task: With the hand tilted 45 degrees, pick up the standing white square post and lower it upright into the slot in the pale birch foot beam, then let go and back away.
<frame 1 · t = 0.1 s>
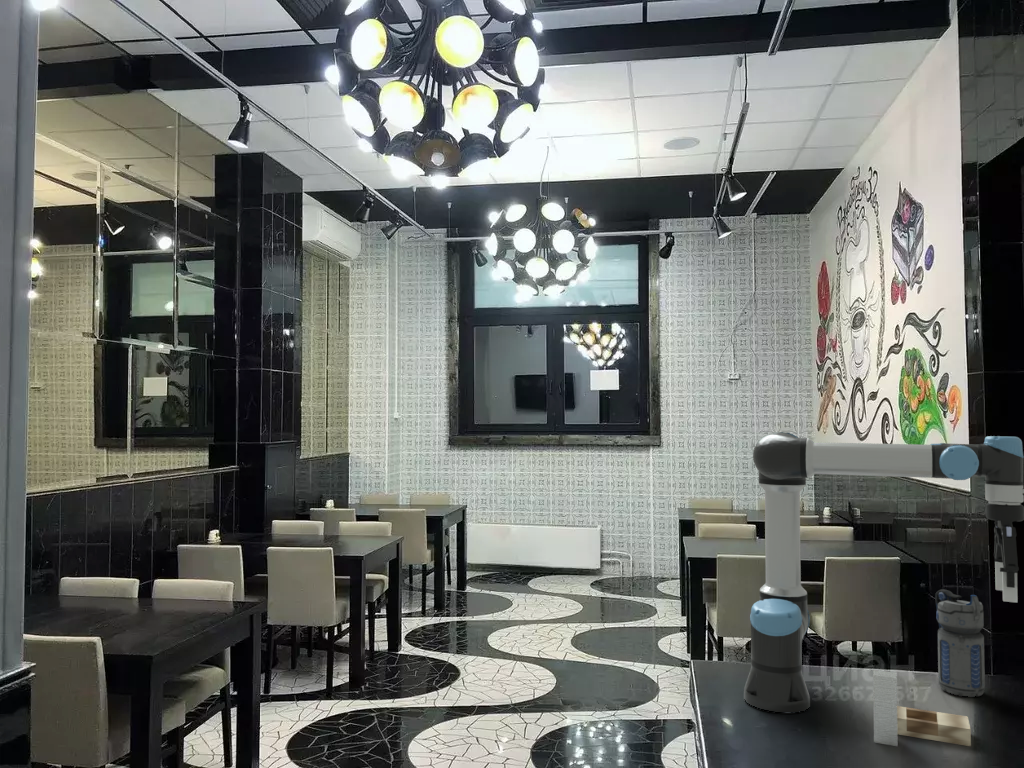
hand: (1006, 595, 181), 28 cm above the table, tool pointing down, fingers open, 13 cm apart
white square post: (885, 740, 167), on the table
foot beam: (921, 731, 172), on the table
beverage bottle: (958, 691, 199), on the table
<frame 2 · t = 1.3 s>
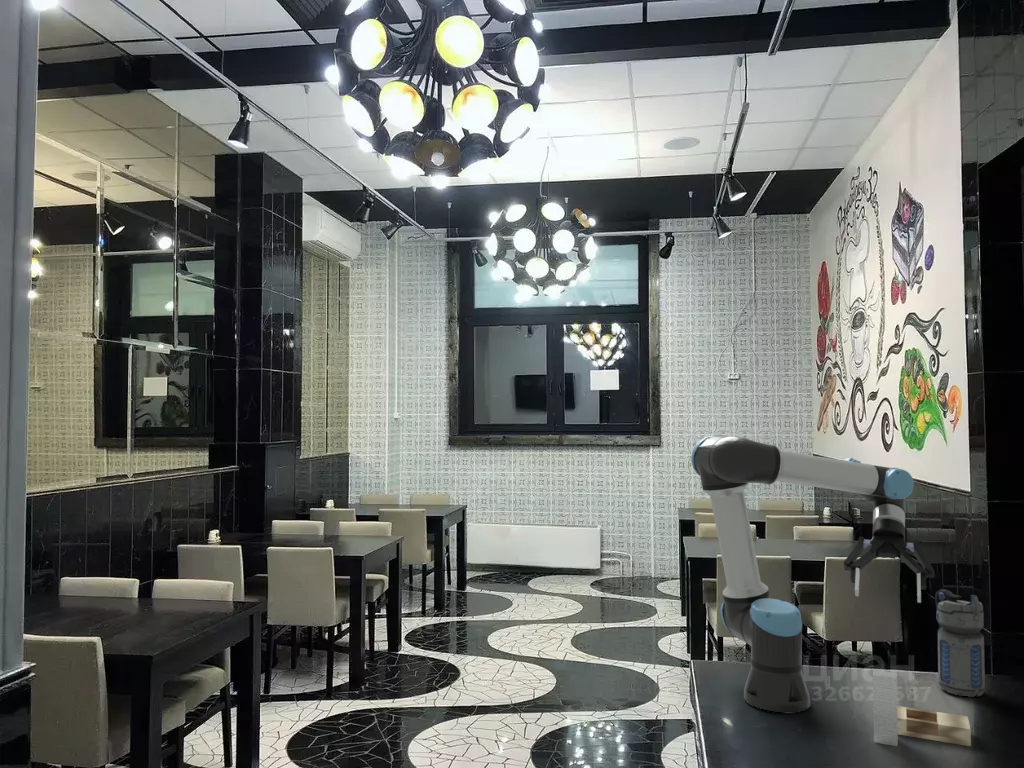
hand: (887, 596, 190), 26 cm above the table, tool tilted 45°, fingers open, 13 cm apart
nothing on the table moved.
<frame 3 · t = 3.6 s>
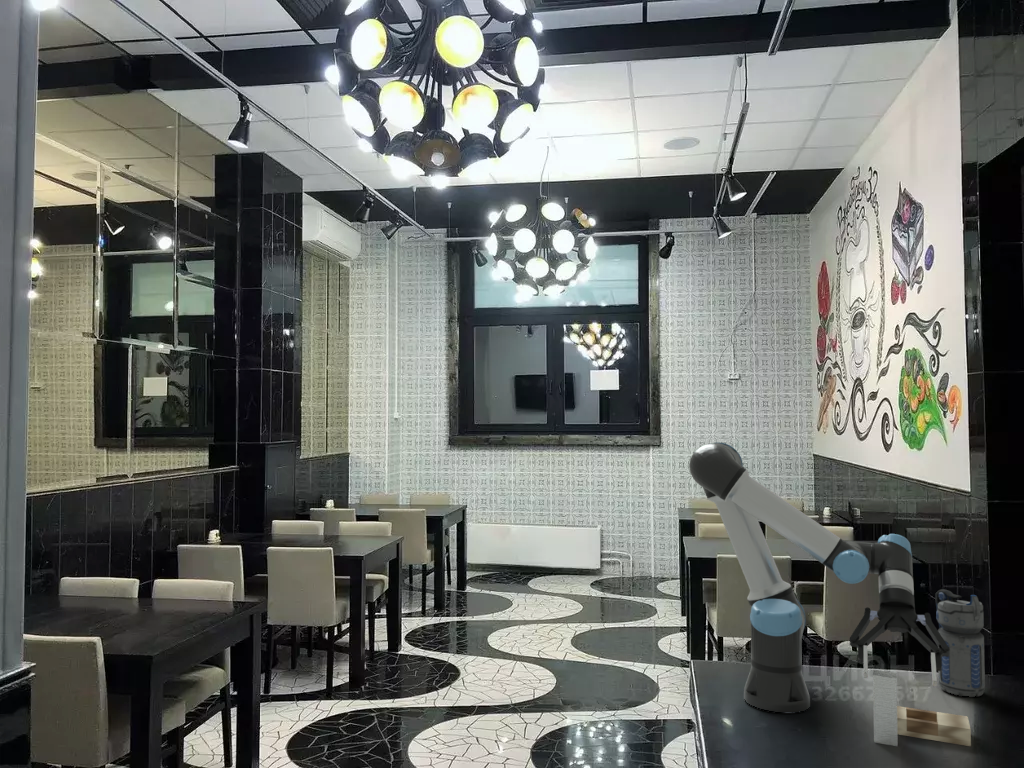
hand: (899, 679, 173), 11 cm above the table, tool tilted 45°, fingers open, 13 cm apart
nothing on the table moved.
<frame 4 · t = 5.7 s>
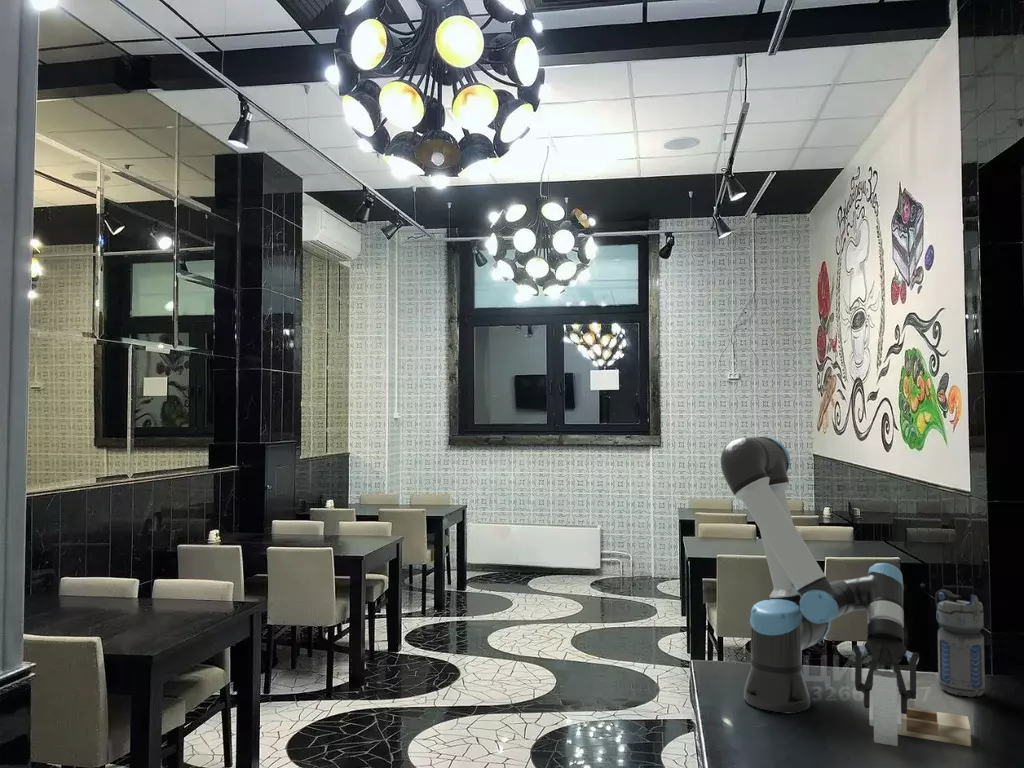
hand: (885, 724, 164), 5 cm above the table, tool tilted 45°, fingers closed on white square post, 4 cm apart
white square post: (885, 740, 167), on the table, touching gripper
everything else where it was.
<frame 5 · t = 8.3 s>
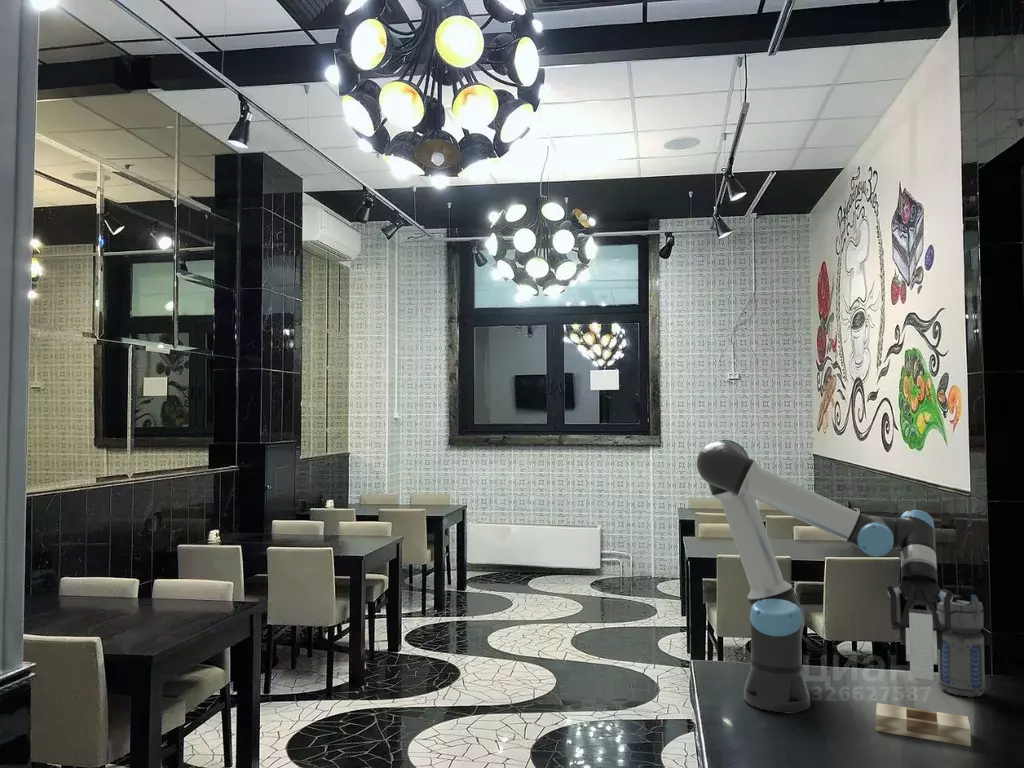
hand: (921, 659, 170), 17 cm above the table, tool tilted 45°, fingers closed on white square post, 4 cm apart
white square post: (921, 676, 173), point 12 cm above the table, touching gripper
everything else where it was.
when the fingers open (7 cm above the table, at t = 11.0 s): white square post drops 1 cm, resting on foot beam.
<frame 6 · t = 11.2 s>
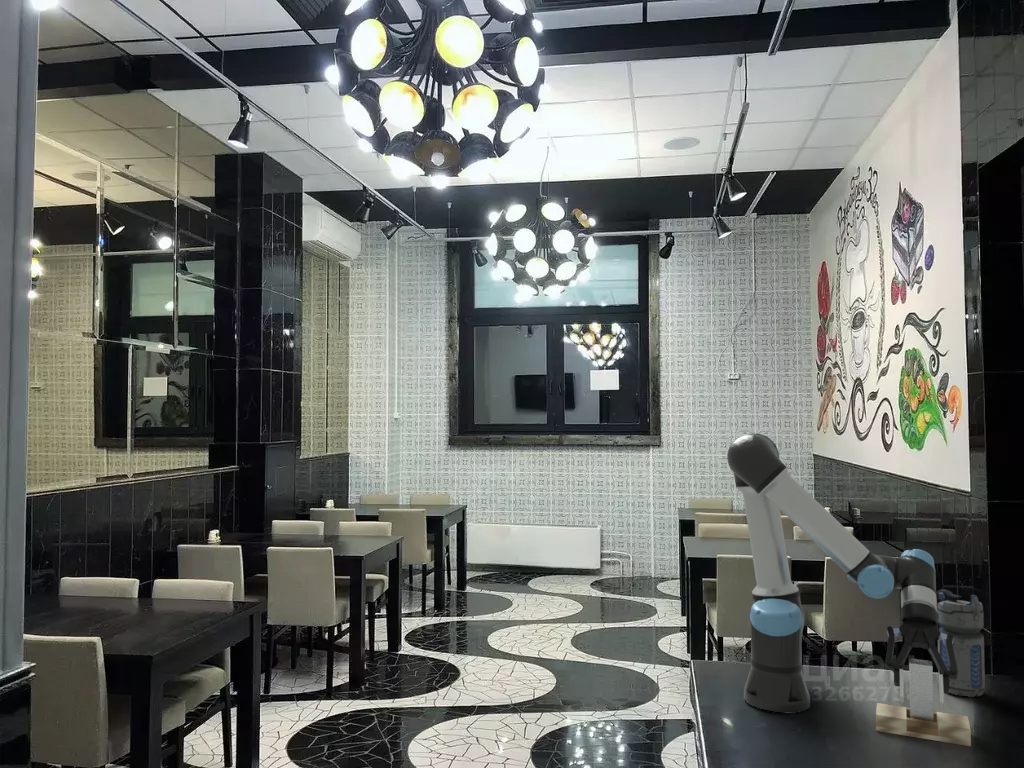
hand: (921, 702, 170), 7 cm above the table, tool tilted 45°, fingers open, 7 cm apart
white square post: (921, 727, 172), point 1 cm above the table, touching foot beam
everything else where it was.
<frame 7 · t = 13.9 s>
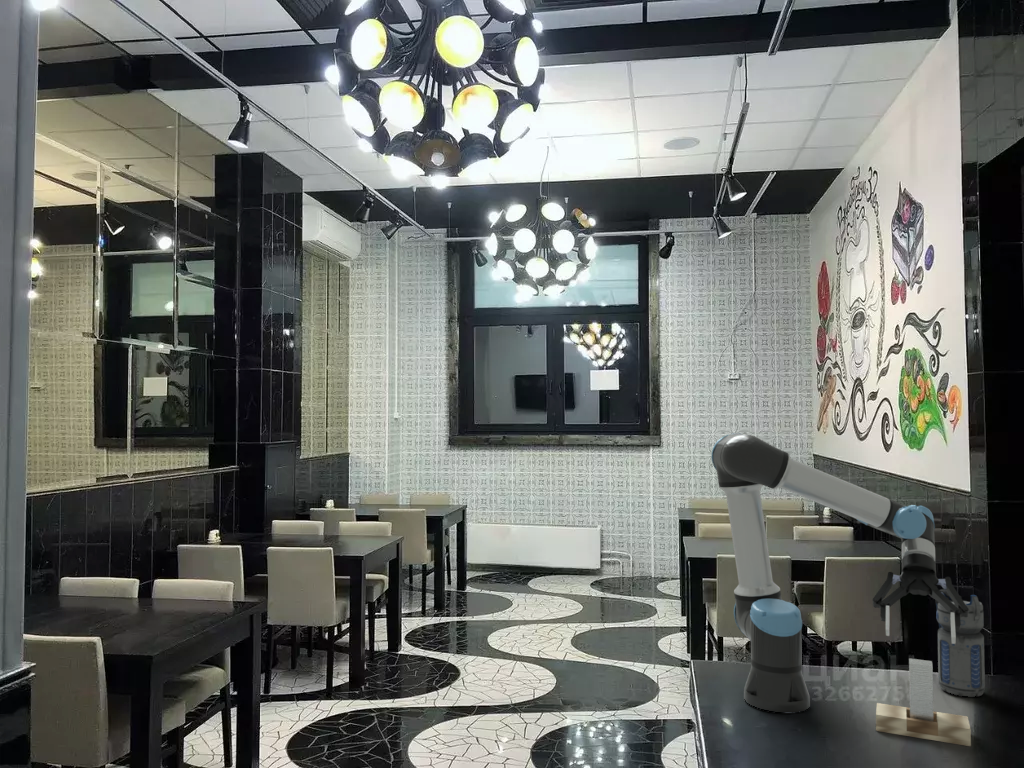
hand: (920, 636, 182), 18 cm above the table, tool tilted 45°, fingers open, 13 cm apart
nothing on the table moved.
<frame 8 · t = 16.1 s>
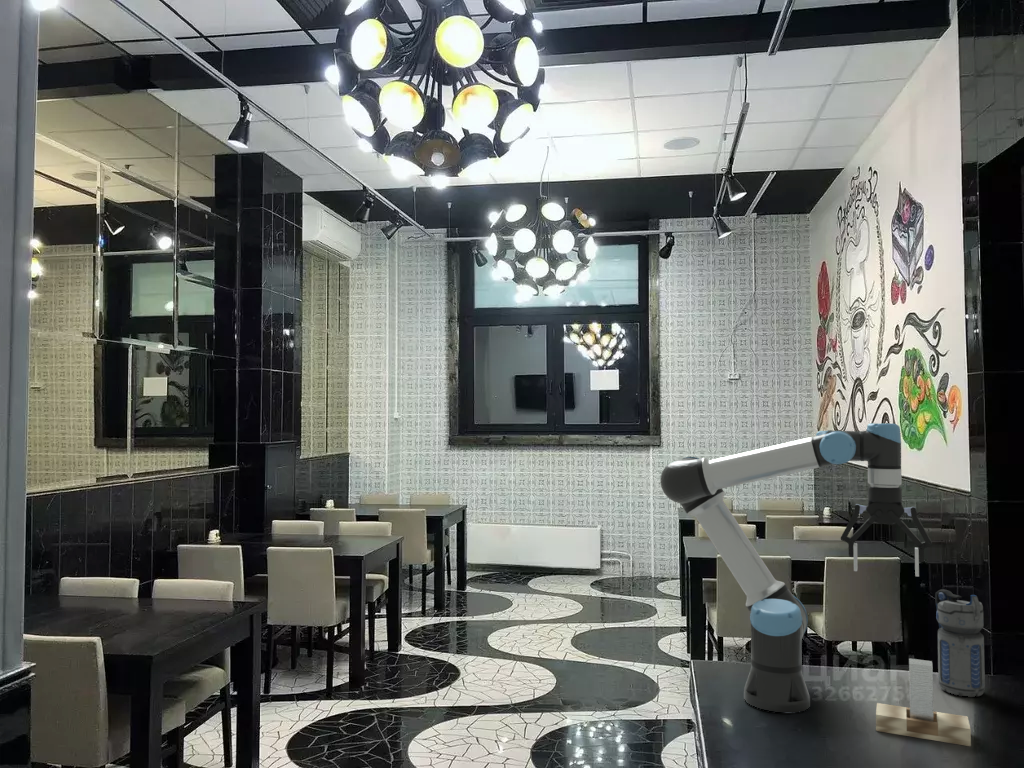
hand: (885, 573, 193), 31 cm above the table, tool pointing down, fingers open, 13 cm apart
nothing on the table moved.
at the end: white square post 0.0 cm off-centre on the foot beam, point 1.0 cm above the foot beam's base; white square post tilted 0°; the gripper is holding nothing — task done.
